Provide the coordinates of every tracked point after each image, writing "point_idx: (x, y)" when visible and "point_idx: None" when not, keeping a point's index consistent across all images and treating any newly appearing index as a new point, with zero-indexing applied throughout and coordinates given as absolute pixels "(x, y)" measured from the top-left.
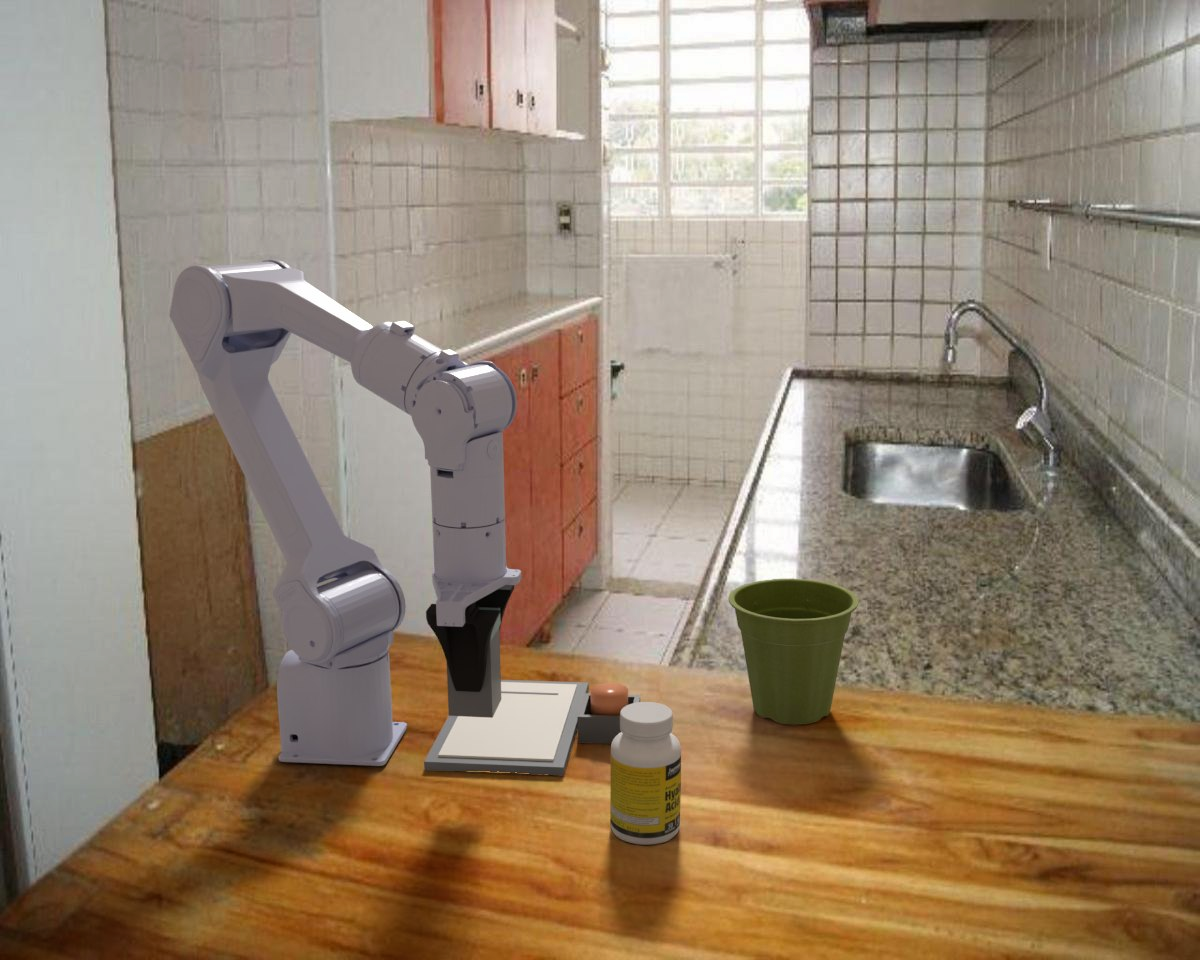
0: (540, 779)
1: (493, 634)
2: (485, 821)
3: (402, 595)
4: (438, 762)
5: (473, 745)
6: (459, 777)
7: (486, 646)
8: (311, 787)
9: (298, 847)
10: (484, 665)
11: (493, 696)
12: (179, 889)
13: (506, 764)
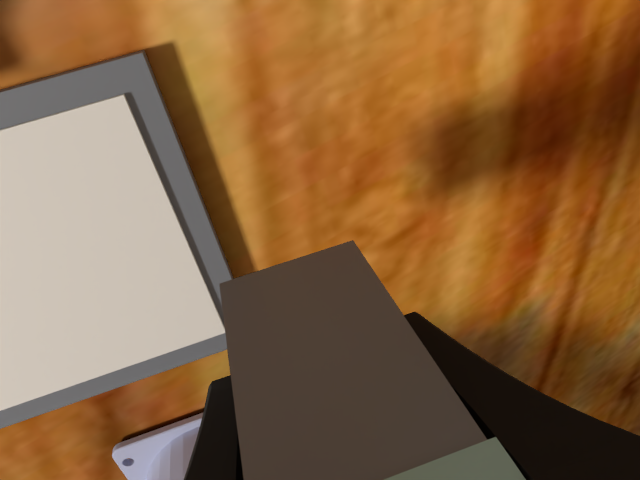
0: (185, 100)
1: (438, 471)
2: (395, 128)
3: None
4: None
5: (153, 298)
6: (251, 261)
7: (566, 414)
8: None
9: (520, 336)
10: (477, 360)
11: (348, 278)
12: (614, 380)
13: (194, 193)
